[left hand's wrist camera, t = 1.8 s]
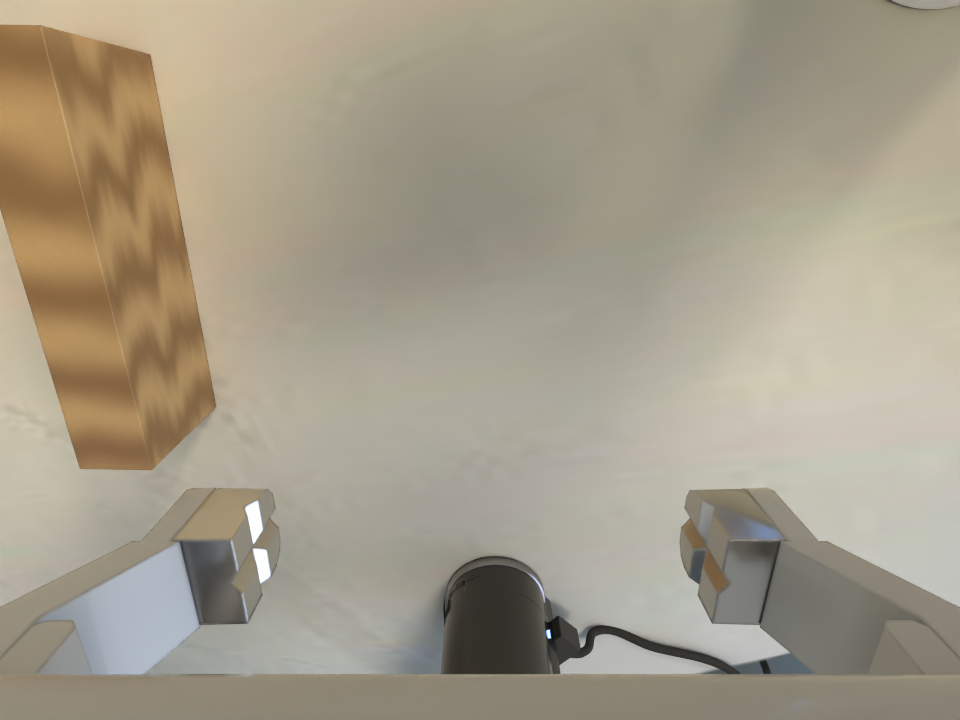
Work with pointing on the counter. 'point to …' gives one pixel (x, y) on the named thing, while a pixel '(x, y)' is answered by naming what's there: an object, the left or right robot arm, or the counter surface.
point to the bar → (101, 244)
